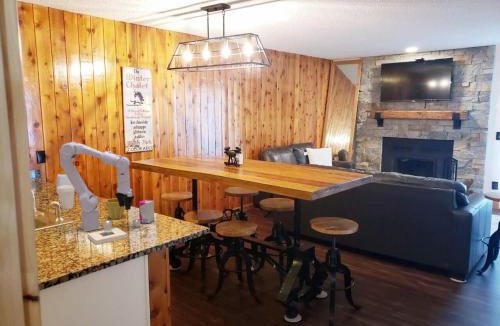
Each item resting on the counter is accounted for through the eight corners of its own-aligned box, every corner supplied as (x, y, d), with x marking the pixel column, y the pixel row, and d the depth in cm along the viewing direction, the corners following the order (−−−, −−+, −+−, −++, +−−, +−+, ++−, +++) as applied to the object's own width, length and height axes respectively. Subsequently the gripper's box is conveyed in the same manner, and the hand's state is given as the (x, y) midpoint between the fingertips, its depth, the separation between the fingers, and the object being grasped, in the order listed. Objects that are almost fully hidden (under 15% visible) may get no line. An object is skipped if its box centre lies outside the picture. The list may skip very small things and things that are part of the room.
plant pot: (130, 216, 213) (129, 199, 212) (116, 221, 204) (115, 203, 203) (116, 213, 218) (115, 197, 217) (102, 218, 209) (101, 201, 207)
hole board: (87, 237, 178) (87, 233, 178) (117, 231, 187) (117, 227, 187) (96, 244, 169) (96, 240, 169) (127, 237, 178) (127, 233, 178)
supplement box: (154, 221, 205) (154, 200, 203) (149, 224, 199) (148, 202, 197) (145, 220, 206) (144, 199, 204) (139, 223, 200) (138, 202, 199)
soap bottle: (69, 190, 276) (66, 160, 273) (74, 194, 266) (72, 162, 262) (54, 192, 270) (52, 161, 267) (59, 196, 260) (57, 163, 256)
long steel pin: (102, 237, 178) (101, 221, 177) (109, 235, 181) (109, 219, 180) (106, 239, 176) (106, 222, 175) (114, 237, 179) (113, 220, 178)
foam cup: (69, 210, 225) (68, 188, 223) (55, 209, 226) (53, 188, 224) (79, 206, 234) (77, 185, 232) (65, 205, 235) (63, 184, 233)
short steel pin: (131, 226, 195) (131, 220, 194) (138, 225, 197) (138, 218, 197) (134, 228, 192) (134, 221, 192) (141, 227, 194) (141, 220, 194)
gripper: (137, 182, 188) (138, 209, 190) (125, 178, 199) (126, 204, 201) (123, 184, 183) (124, 212, 185) (112, 180, 194) (113, 206, 196)
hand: (124, 208), depth 193 cm, fingers open, 7 cm apart
